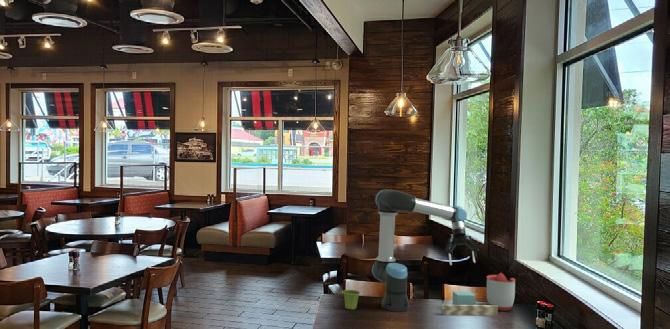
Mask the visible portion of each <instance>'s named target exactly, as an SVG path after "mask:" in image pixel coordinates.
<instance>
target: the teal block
mask: <svg viewBox="0 0 670 329" xmlns="http://www.w3.org/2000/svg"><path fill="white" fill-rule="evenodd" d="M451 305H476V294H474V293H473V292H472V291H467V290H465V291H464V290H463V291H461V290H460V291H457V290H456V291H455V290H453V291H452V303H451Z"/></svg>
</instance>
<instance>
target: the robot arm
mask: <svg viewBox="0 0 670 329" xmlns="http://www.w3.org/2000/svg"><path fill="white" fill-rule="evenodd" d="M375 204H376V206H377V212H378V213H377V214H379V215H380V219H379V220H380V221H379V235H378V236H379V237H378V238H379V240H378V256H377V257H376V258H375V262H374V263H373V265H372V268H371V272H372V275H373V277H374V278H375V279H376V280H377V281H378V282H381V283H383V284H384V285H385V292H384V296H383V299H382V301H381V308H383V310H386V311H390V312H400V313H401V312H406V311H409V310H410V302H409V299H408V295H407V290H408V289H407V288H408V267H407V266H405V265H404V264H401V263H398V262H396V258H395V257H394V244H395V228H396V227H395V226H396V223H395V222H396V216H397V215H398V214H399V212H406V213H412V212H416V213H420V214H424V215H430V216H433V217H437V218H441V219H446V220H448V221H451V227H452V238H450V237H448V238H447V243H446V245H445V248H444V250H443V253H444V255H446V259H447V260H448V261H449V265H450V266H452V265H453V262H452V254H451V253H452V252H453V251H454V250H455V248H456V247H457V246H463V245H466V247H468V248H469V249H470V250H471V253H472V262H473V263H474V264H476V258H477V252H478V251H480V249H479V246H477V245H476V243H475V242H474V240H473V238H472V235H468V236H467V233H466V226H465V225H466V224H465V220H466V219H467V217H468V213H467V211H466V209H464V208H463V207H462V206H461V205H453V206H451V205H447V204H443V203H438V202H434V201H429V200H425V199H423V198H422V199H421V198H416V195H412V194H409V193H405V192H404V191H400V190H396V189H388V188H386V189H382V190H380V191H379V192H378V193H377V194H376V195H375ZM467 241H470V242H471V244H470V243H468V242H467ZM452 242H453V243H452Z"/></svg>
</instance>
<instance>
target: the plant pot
mask: <svg viewBox="0 0 670 329" xmlns="http://www.w3.org/2000/svg"><path fill="white" fill-rule="evenodd" d="M342 294H343V299H344V308H345V309H347V310H356V309H357V308H358V306H357V305H358V302H359V296H360V294H361V292H360V290H359V291H358V290H354V289H345V290H343V291H342Z"/></svg>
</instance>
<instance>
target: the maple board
mask: <svg viewBox="0 0 670 329" xmlns="http://www.w3.org/2000/svg"><path fill="white" fill-rule="evenodd" d="M498 312H499V310H498V306H497V305H489V304H488V305H487V304H483V305H482V304H475V305H452V304H441V312H440V313H441V315H443V316H471V317H472V316H479V317H480V316H482V317H483V316H485V317H486V316H487V317H488V316H489V317H498V316H499V315H498V314H499V313H498Z"/></svg>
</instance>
